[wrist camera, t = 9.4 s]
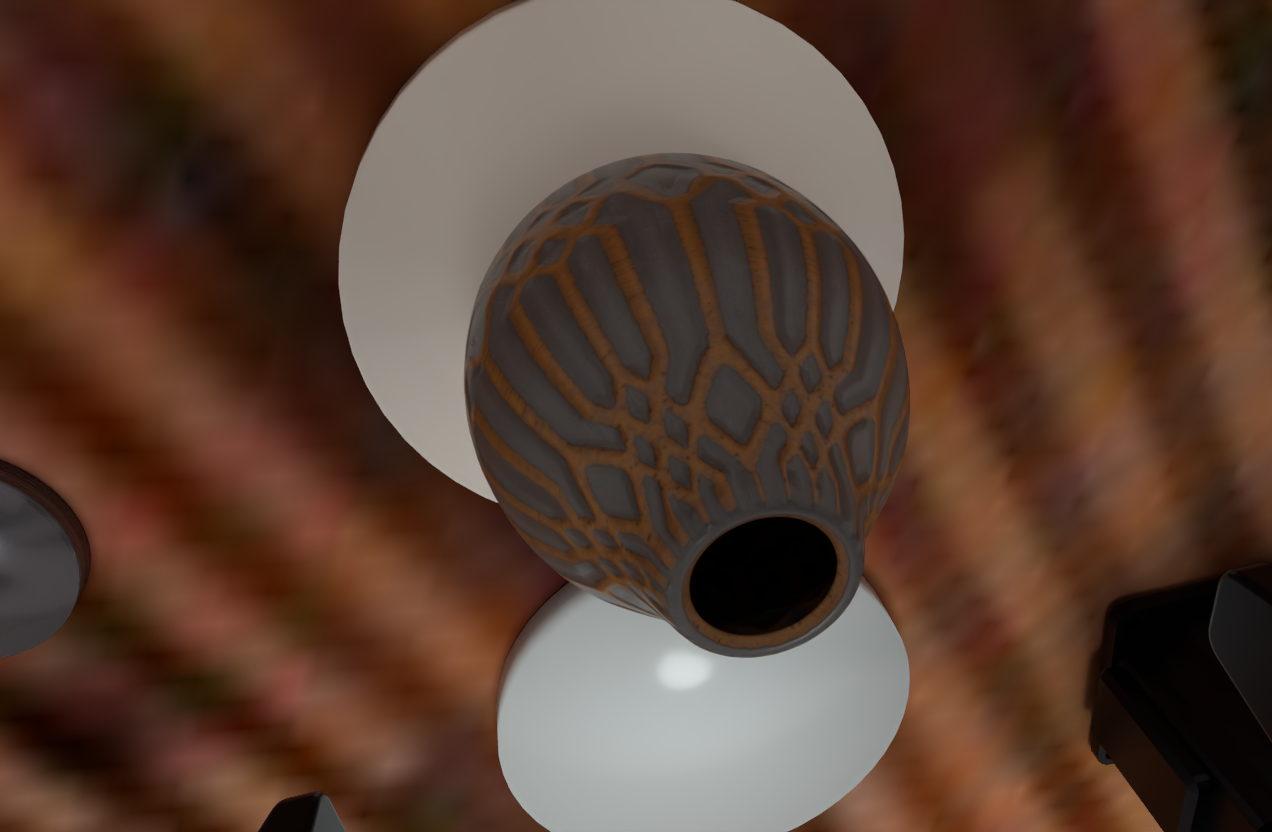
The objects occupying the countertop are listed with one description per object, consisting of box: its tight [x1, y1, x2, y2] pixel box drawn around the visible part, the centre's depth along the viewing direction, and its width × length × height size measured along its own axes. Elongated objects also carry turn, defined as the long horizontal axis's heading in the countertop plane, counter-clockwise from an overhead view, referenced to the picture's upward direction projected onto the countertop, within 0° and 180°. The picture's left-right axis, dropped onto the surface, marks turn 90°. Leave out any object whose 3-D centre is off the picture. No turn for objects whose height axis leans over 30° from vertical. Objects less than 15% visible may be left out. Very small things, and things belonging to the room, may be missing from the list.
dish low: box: [339, 0, 904, 503], centre depth 19 cm, size 11×11×1 cm
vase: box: [464, 153, 910, 658], centre depth 15 cm, size 7×7×9 cm
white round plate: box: [496, 576, 910, 832], centre depth 25 cm, size 11×11×1 cm
